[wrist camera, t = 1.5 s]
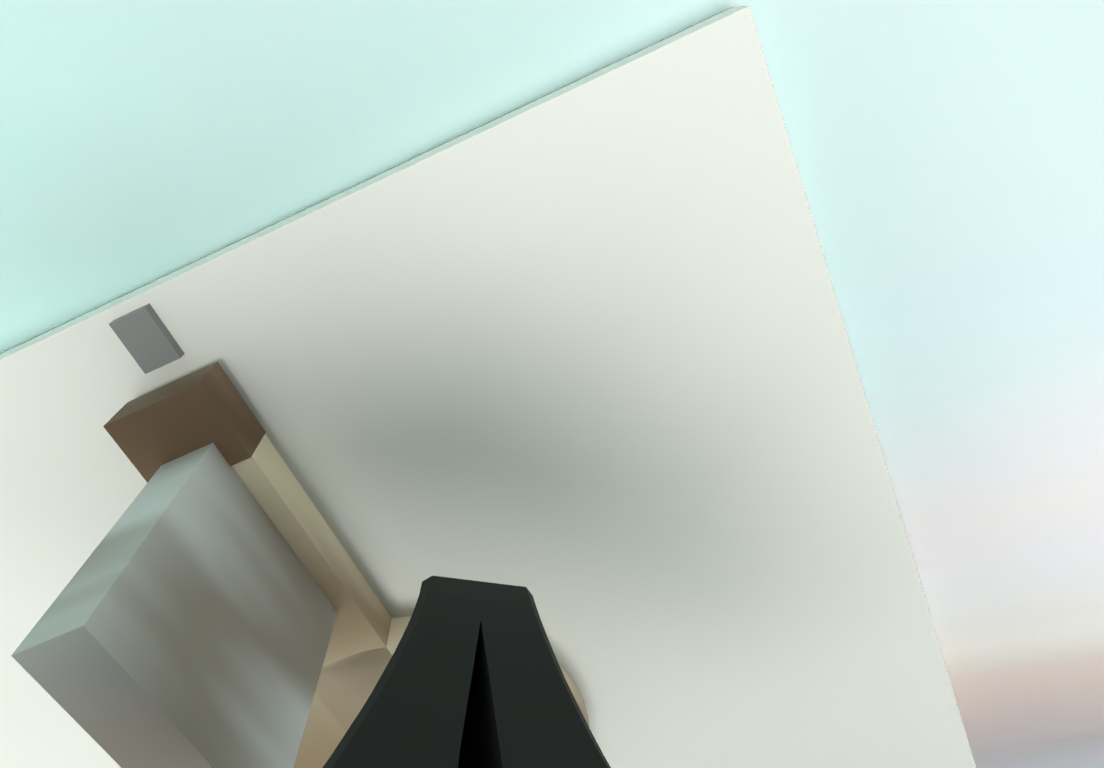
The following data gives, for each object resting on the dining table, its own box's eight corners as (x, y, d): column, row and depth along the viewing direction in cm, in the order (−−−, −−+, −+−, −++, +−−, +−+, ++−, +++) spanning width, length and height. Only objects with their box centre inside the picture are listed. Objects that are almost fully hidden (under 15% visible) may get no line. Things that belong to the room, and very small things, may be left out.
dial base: (983, 828, 21) (1009, 871, 20) (279, 1056, 24) (268, 1105, 23) (731, 6, 13) (752, 5, 12) (-332, 511, 15) (-397, 548, 14)
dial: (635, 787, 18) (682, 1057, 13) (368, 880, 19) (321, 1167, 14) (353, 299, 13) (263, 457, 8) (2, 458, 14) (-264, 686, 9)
